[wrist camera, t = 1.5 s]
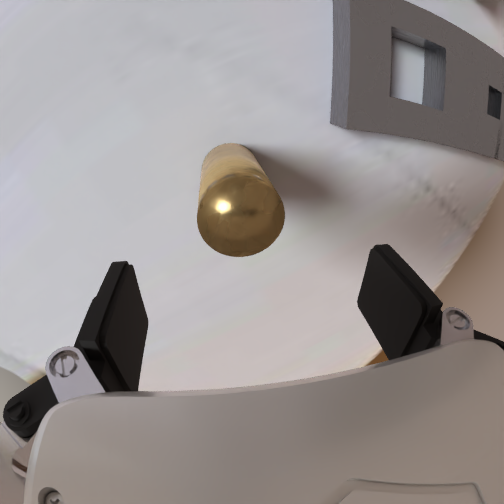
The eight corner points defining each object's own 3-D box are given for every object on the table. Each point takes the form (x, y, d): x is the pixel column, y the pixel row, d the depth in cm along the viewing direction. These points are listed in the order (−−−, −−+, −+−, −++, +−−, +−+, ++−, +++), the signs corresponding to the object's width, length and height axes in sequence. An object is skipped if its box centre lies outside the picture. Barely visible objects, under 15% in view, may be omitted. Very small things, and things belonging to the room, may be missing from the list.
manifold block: (332, -9, 14) (348, -19, 12) (503, 68, 17) (521, 71, 14) (330, 123, 21) (346, 128, 18) (495, 155, 23) (512, 164, 21)
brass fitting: (200, 144, 20) (193, 179, 13) (258, 142, 21) (287, 176, 13) (203, 197, 23) (200, 259, 15) (257, 195, 23) (282, 254, 16)
